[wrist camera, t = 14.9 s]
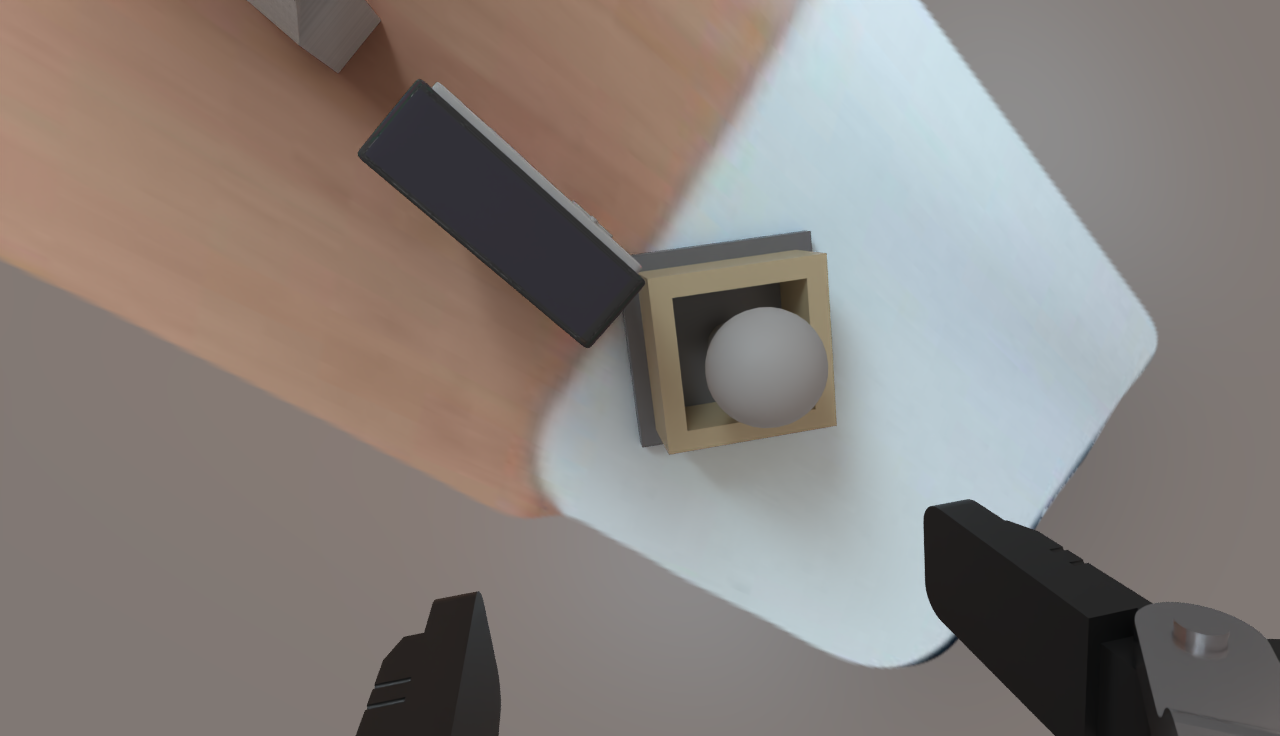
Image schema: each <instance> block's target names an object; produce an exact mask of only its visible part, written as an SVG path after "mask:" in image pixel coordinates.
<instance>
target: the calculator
mask: <svg viewBox="0 0 1280 736" xmlns="http://www.w3.org/2000/svg"><path fill="white" fill-rule="evenodd" d="M358 156H359V158H360V159H361V160H362V161H363V162H364V163H366V164H367V165H368V166H369V167H370V168H372V169H373V170H374V171H375V172H376V173H378V174H379V175H380V176H381V177H382V178H383V179H385V180H386V181H387V182H388V183H389V184H391V185H392V186H393V187H394V188H395V189H397V190H398V191H399V192H400V193H401V194H403V195H404V196H405V197H406V198H407V199H408V200H410V201H411V202H412V203H413V204H414V205H416V206H417V207H418V208H419V209H420V210H422V211H423V212H424V213H425V214H426V215H427V216H429V217H430V218H431V219H432V220H433V221H435V222H436V223H437V224H438V225H439V226H441V227H442V228H443V229H444V230H445V231H447V232H448V233H449V234H450V235H451V236H452V237H454V238H455V239H456V240H457V241H458V242H460V243H461V244H462V245H463V246H464V247H466V248H467V249H468V250H469V251H470V252H472V253H473V254H474V255H475V256H476V257H477V258H479V259H480V260H481V261H482V262H483V263H485V264H486V265H487V266H488V267H489V268H491V269H492V270H493V271H494V272H495V273H496V274H498V275H499V276H500V277H501V278H502V279H504V280H505V281H506V282H507V283H508V284H510V285H511V286H512V287H513V288H514V289H516V290H517V291H518V292H519V293H520V294H521V295H523V296H524V297H525V298H526V299H527V300H529V301H530V302H531V303H532V304H533V305H535V306H536V307H537V308H538V309H539V310H540V311H542V312H543V313H544V314H545V315H546V316H548V317H549V318H550V319H551V320H552V321H554V322H555V323H556V324H557V325H558V326H560V327H561V328H562V329H563V330H564V331H565V332H567V333H568V334H569V335H570V336H571V337H573V338H574V339H575V340H576V341H577V342H579V343H580V344H581V345H582V346H584V347H585V348H590V347H591V346H592V345H593V344H594V343H595V342H596V340H597V339H598V338H599V337H600V336H601V335H602V334H603V333H604V331H605V330H606V329H607V328H608V327H609V326H610V325H611V323H612V322H613V321H614V320H615V319H616V318H617V317H618V315H619V314H620V313H621V312H622V311H623V310H624V309H625V307H626V306H627V305H628V304H629V303H630V302H631V301H632V299H633V298H634V297H635V296H636V295H637V294H638V293H639V291H640V290H641V289H642V288H643V287H644V285H645V280H644V279H643V278H642V277H641V276H640V275H638V273H639V272H640V271H641V269H642V266H641V265H640V264H639V263H638V262H637V261H636V260H635V259H634V258H633V257H632V256H631V255H630V254H629V253H627V252H626V251H625V250H624V249H623V248H622V247H621V246H620V245H619V244H617V243H616V242H615V241H614V240H613V239H612V237H613V236H612V235H611V234H610V233H609V232H608V231H607V230H606V229H604V228H603V227H602V226H601V225H600V224H599V223H598V221H597V220H596V219H595V218H594V217H593V216H590V215H589V214H588V213H587V212H586V211H585V210H584V209H582V208H581V207H580V206H579V205H578V204H577V203H576V202H575V201H572V202H571V201H570V200H569V199H568V198H567V197H566V196H565V195H564V194H562V193H561V192H560V191H559V190H558V189H557V188H556V187H554V186H553V185H552V184H551V183H550V182H549V181H548V180H547V179H546V178H545V177H543V176H542V175H541V174H540V173H539V172H538V171H537V170H536V169H535V168H534V167H533V166H532V165H530V164H529V162H528V161H527V160H526V159H524V158H523V157H522V156H521V155H520V154H519V153H518V152H517V151H516V150H515V149H513V148H512V147H511V146H510V145H509V144H508V143H507V142H506V141H505V140H504V139H502V138H501V137H500V136H499V135H498V134H497V133H496V132H495V131H494V130H493V129H491V128H490V127H489V126H487V125H486V124H485V123H484V122H483V121H482V120H481V119H480V118H479V117H478V116H476V115H475V114H474V113H473V112H472V111H471V110H470V109H469V108H468V107H467V106H465V105H464V104H463V103H462V102H461V101H460V100H459V99H458V98H456V97H455V96H454V95H453V94H452V93H451V92H450V91H449V90H448V89H446V88H445V87H444V86H443V85H442V84H440V83H439V82H436V83H435V85H434V86H433V87H432V88H431V87H430V86H429V85H428V84H427V83H425V82H424V81H423V80H421V79H418V80H416V81H415V83H414V84H413V85H412V86H411V87H410V89H409V90H408V91H407V92H406V93H405V95H404V96H403V97H402V98H401V100H400V101H399V102H398V103H397V104H396V106H395V107H394V108H393V109H392V110H391V112H390V113H389V114H388V115H387V117H386V118H385V119H384V120H383V121H382V123H381V124H380V125H379V126H378V127H377V129H376V130H375V131H374V132H373V134H372V135H371V136H370V137H369V139H368V140H367V141H366V142H365V143H364V145H363V146H362V147H361V148H360V150H359V151H358Z"/></svg>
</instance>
